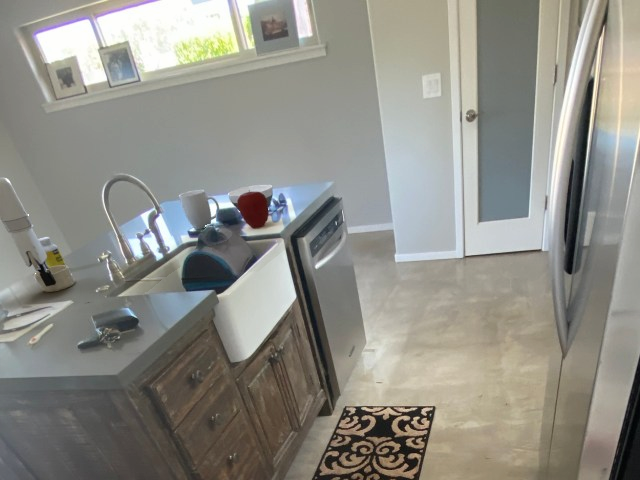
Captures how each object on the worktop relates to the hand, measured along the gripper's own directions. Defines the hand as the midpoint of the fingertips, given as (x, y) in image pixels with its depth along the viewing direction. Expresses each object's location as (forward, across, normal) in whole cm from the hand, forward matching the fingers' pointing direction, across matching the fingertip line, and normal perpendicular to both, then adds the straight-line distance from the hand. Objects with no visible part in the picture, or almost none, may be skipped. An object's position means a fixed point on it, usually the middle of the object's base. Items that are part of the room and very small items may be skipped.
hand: (51, 284), depth 174 cm
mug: (+4, -56, +53) cm, 77 cm away
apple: (+4, -35, +74) cm, 82 cm away
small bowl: (+3, -8, 0) cm, 8 cm away
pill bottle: (+3, -30, -4) cm, 30 cm away
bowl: (+4, -59, +76) cm, 97 cm away
